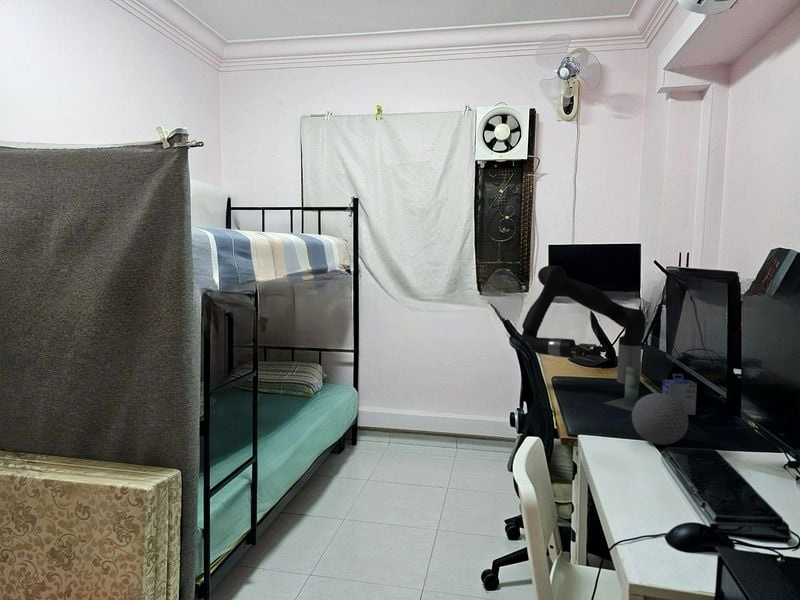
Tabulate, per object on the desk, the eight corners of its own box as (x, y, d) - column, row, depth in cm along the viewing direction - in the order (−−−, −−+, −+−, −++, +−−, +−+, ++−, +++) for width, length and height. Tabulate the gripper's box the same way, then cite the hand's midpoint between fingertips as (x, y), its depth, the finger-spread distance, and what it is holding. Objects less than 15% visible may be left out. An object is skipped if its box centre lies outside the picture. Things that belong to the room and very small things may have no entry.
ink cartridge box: (687, 412, 180) (690, 373, 178) (696, 417, 174) (698, 376, 173) (659, 412, 180) (662, 372, 179) (667, 417, 174) (670, 376, 173)
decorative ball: (671, 457, 139) (674, 404, 138) (620, 440, 151) (623, 392, 150) (696, 445, 148) (699, 396, 147) (646, 431, 160) (649, 385, 159)
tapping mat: (624, 399, 195) (624, 397, 195) (659, 409, 183) (659, 406, 183) (602, 405, 187) (602, 402, 187) (638, 415, 176) (638, 412, 175)
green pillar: (628, 402, 188) (630, 365, 187) (640, 405, 185) (642, 368, 183) (621, 404, 186) (623, 367, 185) (633, 407, 182) (635, 369, 181)
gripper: (555, 341, 197) (598, 344, 187) (567, 336, 208) (608, 339, 199) (555, 360, 197) (598, 364, 188) (567, 353, 209) (607, 357, 199)
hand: (603, 351), depth 193 cm, fingers open, 8 cm apart
